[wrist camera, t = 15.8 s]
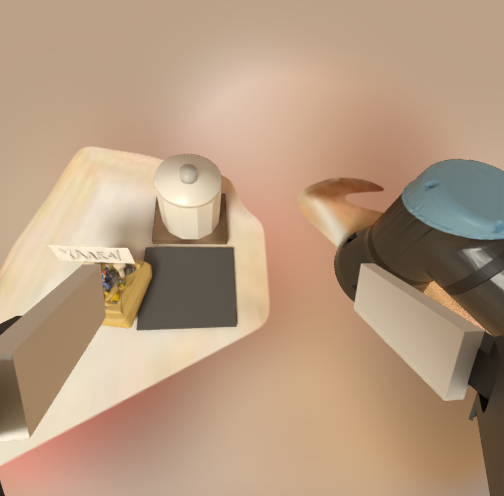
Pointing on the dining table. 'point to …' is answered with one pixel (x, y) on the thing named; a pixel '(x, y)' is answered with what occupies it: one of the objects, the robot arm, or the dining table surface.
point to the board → (164, 237)
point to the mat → (189, 289)
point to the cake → (114, 279)
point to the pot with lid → (189, 195)
